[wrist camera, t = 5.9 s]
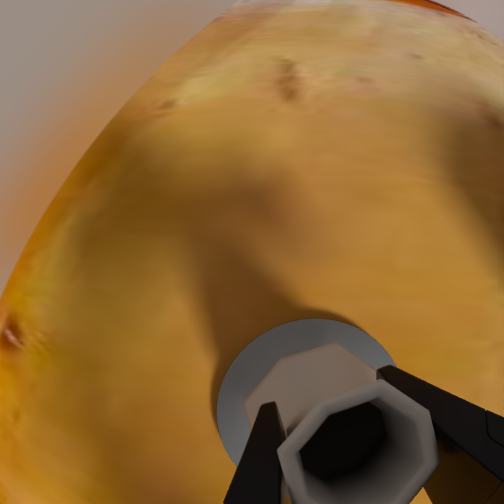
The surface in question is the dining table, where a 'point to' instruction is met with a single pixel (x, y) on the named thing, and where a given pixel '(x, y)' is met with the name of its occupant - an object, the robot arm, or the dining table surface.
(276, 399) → the flask
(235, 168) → the dining table surface
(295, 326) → the slate coaster
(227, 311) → the dining table surface
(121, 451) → the dining table surface
